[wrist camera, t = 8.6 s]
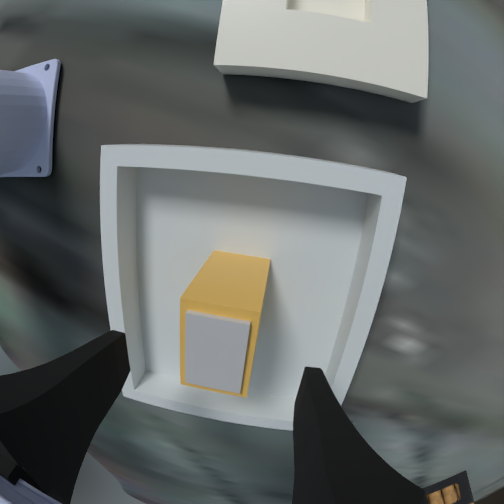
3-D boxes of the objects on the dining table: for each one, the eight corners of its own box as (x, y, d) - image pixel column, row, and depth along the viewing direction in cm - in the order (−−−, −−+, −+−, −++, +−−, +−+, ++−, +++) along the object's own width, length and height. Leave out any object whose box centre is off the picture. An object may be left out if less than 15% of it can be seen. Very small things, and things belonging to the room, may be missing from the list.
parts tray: (139, 370, 21) (123, 396, 18) (129, 143, 16) (101, 145, 13) (326, 402, 20) (329, 433, 17) (386, 171, 15) (406, 177, 12)
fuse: (208, 321, 18) (178, 387, 13) (214, 250, 16) (177, 300, 11) (259, 330, 18) (245, 401, 12) (270, 258, 16) (260, 315, 11)
